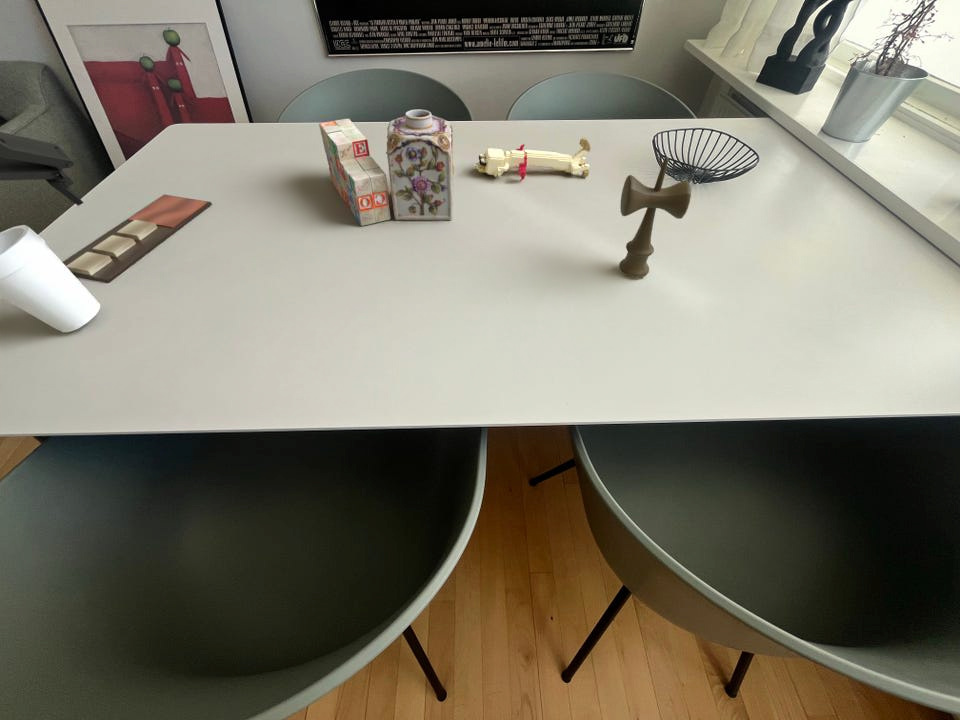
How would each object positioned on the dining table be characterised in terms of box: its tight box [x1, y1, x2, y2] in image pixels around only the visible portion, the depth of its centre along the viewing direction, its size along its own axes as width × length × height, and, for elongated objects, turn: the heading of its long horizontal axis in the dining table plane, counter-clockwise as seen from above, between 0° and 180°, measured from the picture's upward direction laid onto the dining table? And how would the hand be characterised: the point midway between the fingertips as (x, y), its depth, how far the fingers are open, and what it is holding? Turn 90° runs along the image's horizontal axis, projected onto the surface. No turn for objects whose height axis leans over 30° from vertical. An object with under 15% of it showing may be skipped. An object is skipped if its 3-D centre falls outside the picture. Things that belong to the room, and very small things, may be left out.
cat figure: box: [475, 137, 592, 180], centre depth 106 cm, size 10×9×25 cm
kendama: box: [618, 156, 692, 278], centre depth 76 cm, size 6×10×20 cm, turn 83°
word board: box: [61, 194, 213, 284], centre depth 88 cm, size 11×27×2 cm, turn 165°
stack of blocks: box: [318, 118, 391, 227], centre depth 95 cm, size 21×6×12 cm, turn 27°
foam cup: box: [0, 224, 101, 334], centre depth 67 cm, size 10×9×13 cm
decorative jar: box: [385, 108, 455, 221], centre depth 91 cm, size 12×12×18 cm
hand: (22, 226), depth 61 cm, fingers open, 13 cm apart
